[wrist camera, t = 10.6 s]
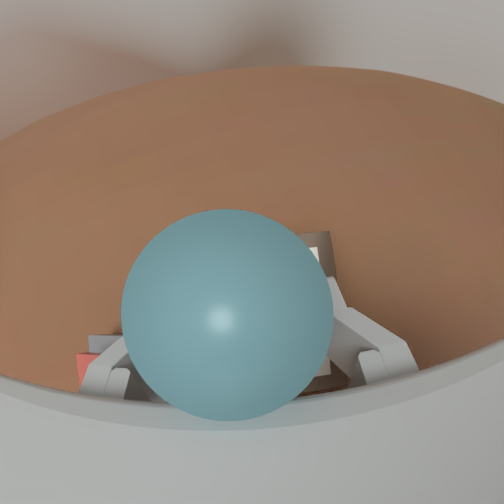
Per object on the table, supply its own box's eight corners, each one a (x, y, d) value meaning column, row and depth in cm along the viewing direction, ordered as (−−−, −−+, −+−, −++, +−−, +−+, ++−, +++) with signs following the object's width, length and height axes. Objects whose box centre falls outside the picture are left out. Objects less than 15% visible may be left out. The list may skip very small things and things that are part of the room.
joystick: (279, 284, 16) (317, 200, 5) (284, 343, 15) (340, 409, 4) (220, 290, 16) (121, 221, 5) (224, 348, 16) (132, 417, 4)
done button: (146, 351, 19) (123, 356, 15) (152, 401, 18) (131, 415, 15) (102, 350, 19) (76, 353, 16) (108, 397, 18) (83, 408, 15)
